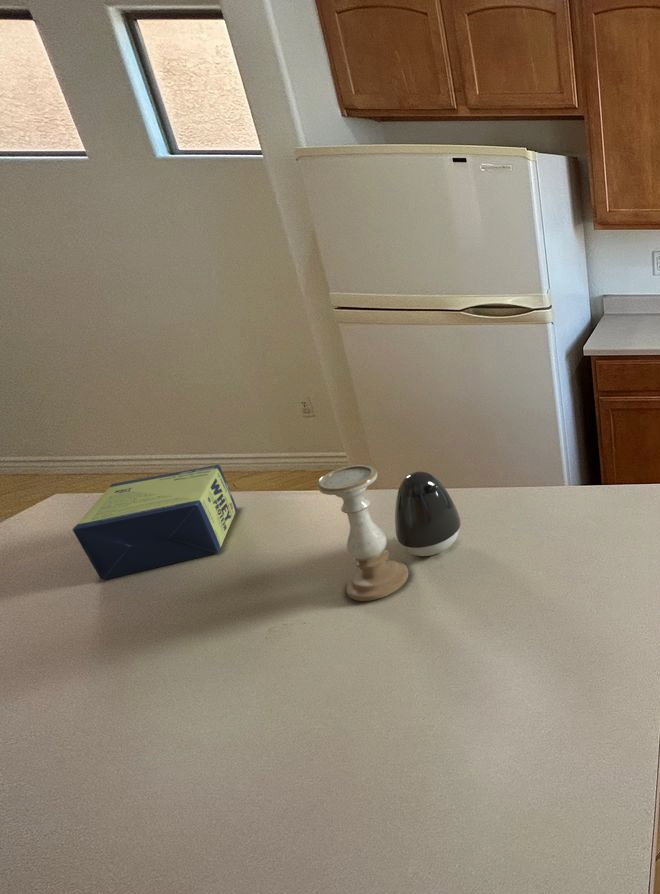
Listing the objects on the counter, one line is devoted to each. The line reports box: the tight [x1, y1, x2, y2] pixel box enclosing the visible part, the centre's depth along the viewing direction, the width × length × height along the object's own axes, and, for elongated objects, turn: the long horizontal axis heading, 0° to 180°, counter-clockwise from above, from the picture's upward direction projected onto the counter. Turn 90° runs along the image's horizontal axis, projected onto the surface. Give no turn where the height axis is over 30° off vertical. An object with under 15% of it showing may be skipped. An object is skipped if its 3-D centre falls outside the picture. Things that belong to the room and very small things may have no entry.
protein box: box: [72, 464, 238, 581], centre depth 98 cm, size 10×16×16 cm
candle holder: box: [317, 464, 409, 602], centre depth 87 cm, size 9×9×20 cm
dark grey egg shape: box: [394, 470, 461, 557], centre depth 97 cm, size 10×10×15 cm
